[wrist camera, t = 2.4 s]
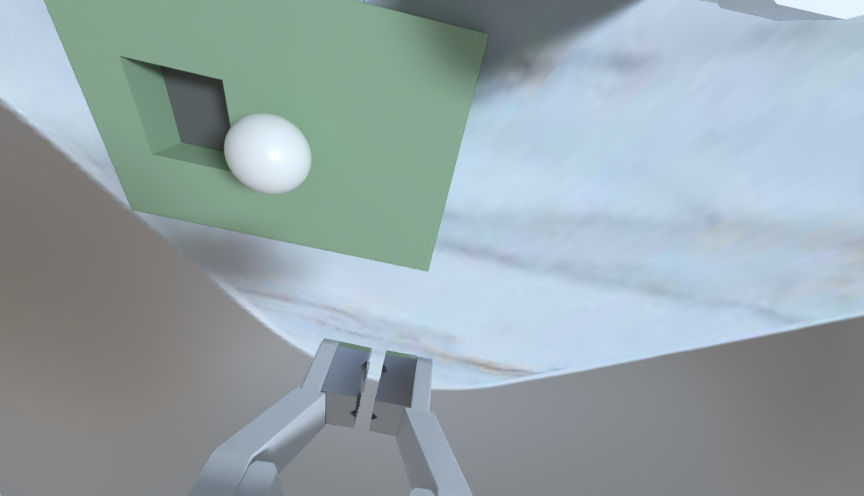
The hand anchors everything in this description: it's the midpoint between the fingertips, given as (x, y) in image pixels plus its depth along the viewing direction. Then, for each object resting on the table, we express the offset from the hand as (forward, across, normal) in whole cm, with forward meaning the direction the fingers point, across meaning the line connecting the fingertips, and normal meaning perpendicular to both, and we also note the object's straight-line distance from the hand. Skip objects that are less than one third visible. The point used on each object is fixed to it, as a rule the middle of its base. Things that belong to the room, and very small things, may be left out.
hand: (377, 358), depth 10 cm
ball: (+13, +10, 0) cm, 16 cm away
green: (+19, +11, 0) cm, 22 cm away
